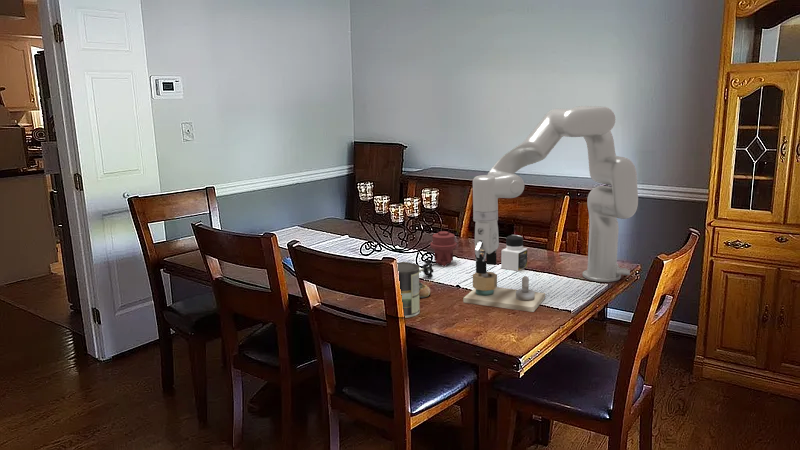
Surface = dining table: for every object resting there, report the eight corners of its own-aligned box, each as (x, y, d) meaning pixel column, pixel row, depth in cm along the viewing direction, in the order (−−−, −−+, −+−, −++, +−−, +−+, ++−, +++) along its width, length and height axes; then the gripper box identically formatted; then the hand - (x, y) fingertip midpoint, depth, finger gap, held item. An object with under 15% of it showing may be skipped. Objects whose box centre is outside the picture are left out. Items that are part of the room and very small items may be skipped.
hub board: (545, 297, 194) (545, 271, 193) (533, 312, 182) (534, 284, 180) (478, 289, 204) (478, 264, 202) (463, 302, 192) (463, 276, 190)
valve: (401, 284, 211) (433, 280, 216) (401, 266, 210) (433, 262, 214) (394, 279, 218) (426, 275, 222) (394, 261, 216) (426, 257, 220)
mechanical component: (456, 260, 240) (457, 267, 230) (430, 260, 240) (430, 267, 230) (455, 229, 237) (457, 235, 227) (429, 229, 237) (430, 235, 228)
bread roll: (391, 297, 199) (392, 281, 198) (405, 291, 209) (406, 276, 208) (423, 302, 194) (424, 286, 194) (436, 296, 204) (437, 281, 204)
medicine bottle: (518, 271, 223) (519, 239, 220) (500, 268, 227) (501, 236, 225) (527, 266, 229) (528, 235, 226) (510, 264, 233) (510, 233, 230)
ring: (498, 285, 197) (499, 273, 196) (491, 291, 191) (492, 279, 190) (478, 282, 200) (478, 270, 199) (470, 288, 194) (470, 276, 193)
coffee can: (396, 320, 178) (395, 273, 175) (379, 310, 187) (378, 265, 184) (426, 313, 183) (426, 267, 180) (408, 304, 192) (407, 260, 189)
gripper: (488, 222, 181) (489, 278, 185) (505, 210, 196) (506, 262, 200) (464, 220, 185) (465, 275, 188) (483, 209, 200) (484, 260, 203)
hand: (486, 268), depth 194 cm, fingers open, 9 cm apart
